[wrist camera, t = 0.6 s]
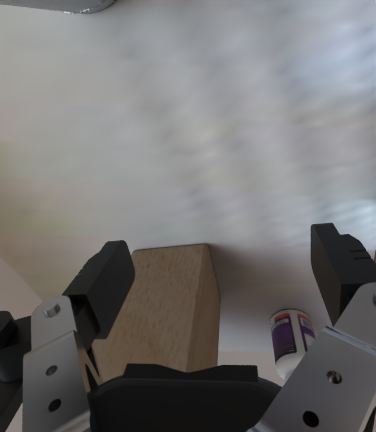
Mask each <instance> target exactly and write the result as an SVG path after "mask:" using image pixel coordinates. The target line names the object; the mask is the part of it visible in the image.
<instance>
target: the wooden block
mask: <svg viewBox="0 0 376 432" xmlns="http://www.w3.org/2000/svg"><path fill="white" fill-rule="evenodd" d="M131 258H132V261H133V264H134V267H135V280H134V282H133V284H132V287H131V289H130V291H129V293H128V295H127V297H126V299H125V301H124V303H123V305H122V308H121V310H120V312H119V314H118V316H117V318H116V320H115V322H114V324H113V327H112V329H111V331H110V333H109V335H108V337H107V339H95V340H94V341H93V343H92V346H93V348H94V350H95V354H96V358H97V361H98V365H99V368H100V372H101V375H102V379H103V382H106V381H108V380H110V379H112V378H115V377H117V376H120V375H123V374H124V371H125V368H126V365H127V363H136V364H159V365H162V366H166V367H169V368H172V369H176V370H179V371H183V372H194V371H198V370H203V369H207V368H211V367H216V366H217V360H218V341H219V322H220V302H221V298H220V294H219V290H218V286H217V281H216V277H215V273H214V269H213V264H212V260H211V256H210V251H209V247H208V246H207V244H198V245H187V246H177V247H166V248H155V249H145V250H135V251H133V252H132V254H131Z"/></svg>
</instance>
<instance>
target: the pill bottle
mask: <svg viewBox="0 0 376 432" xmlns="http://www.w3.org/2000/svg"><path fill="white" fill-rule="evenodd" d="M270 325H271V333H272V340H273V348H274V355H275V363H276V369H277V372H278V374H279V375H280V376H281V378H283V379H284V384H285V383H286V381H287V380H288V378H289V377H290V375H291V374H292V372H293V371H294V370H295V368H296V367H297V365H298V364H299V362H300V361H301V359H302V358H303V356H304V355H305V353H306V352H307V350H308V349H309V347H310V346H311V345H312V343H313V342H314V340H315V336H314V332H313V328H312V325H311V322H310V319H309V317H308V316H307V315H306V314H305V313H303V312H301V311H298V310H283V311H280V312H278V313H276V314H275V315H274V316H273V317H272V318H271V322H270Z"/></svg>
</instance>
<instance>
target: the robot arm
mask: <svg viewBox="0 0 376 432" xmlns="http://www.w3.org/2000/svg"><path fill="white" fill-rule="evenodd" d="M114 1H115V0H0V4H3V5H11V6H20V7H28V8H37V9H45V10H54V11H62V12H65V13H75V14H76V13H82V14H88V13H95V12H98V11H101V10H103V9H105V8H107V7H108V6H109V5H111V4H112V3H113V2H114ZM311 265H312V270H313V273H314V276H315V279H316V281H317V284H318V287H319V290H320V292H321V295H322V298H323V301H324V303H325V306H326V309H327V312H328V314H329V317H330V320H331V323H332V325H333V328H332V329H331V328H329V327H324V328H323V329H322V330H321V331H320V333H319V334H318V336H317V337H316V339H315V340H314V342H313V343H312V345H311V346H310V347H309V349H308V350H307V352H306V353H305V355H304V356H303V358H302V359H301V361H300V362H299V364H298V365H297V367H296V368H295V370H294V371H293V372H292V374H291V375H290V377H289V378H288V380H287V381H286V383H285V384H284V386H283V387H281V386H279V385H277V384H275V383H273V382H271V381H268V380H266V379H263V378H260V377H258V370H257V366H255V365H221V366H216V367H211V368H207V369H203V370H198V371H194V372H183V371H179V370H176V369H172V368H169V367H166V366H162V365H159V364H136V363H127V365H126V368H125V371H124V374H123V375H120V376H117V377H115V378H112V379H110V380H108V381H106V382H103V379H102V375H101V372H100V368H99V365H98V361H97V358H96V354H95V350H94V348H93V346H92V343H93V341H94V340H95V339H107V337H108V335H109V333H110V331H111V329H112V327H113V324H114V322H115V320H116V318H117V316H118V314H119V312H120V310H121V308H122V305H123V303H124V301H125V299H126V297H127V295H128V293H129V291H130V289H131V287H132V284H133V282H134V280H135V267H134V264H133V261H132V258H131V255H130V252H129V249H128V246H127V244H126V242H125V241H124V240H120V241H108V242H107V243H106V244H105V245H104V246H103V248H102V249H101V251H100V252H99V253H97V254H95V255H94V256H93V257H92V258H90V259H89V260H88V261H87V262H86V264H85V265H84V266H83V269H81V270H80V272H79V273H78V275H77V276H76V277H75V278H74V280H73V281H72V282H71V284H70V285H69V286H68V288H67V289H66V290H65V291H64V293H63V294H62V295H61V296H55V297H52V298H50V299H48V300H46V301H44V302H43V303H41V304H40V305H39V306H38V307H37V308H36V309H35V310H34V311H33V313H32V315H31V316H28V317H24V318H21V319H17V320H14V319H13V317H12V315H11V314H10V312H8V311H0V432H5V431H6V429H7V428H8V426H9V424H10V423H11V421H12V419H13V417H14V416H15V414H16V412H17V411H18V409H19V407H20V405H21V403H22V402H23V414H22V416H23V417H22V432H376V264H375V262H374V261H373V259H371V256H370V255H369V253H368V252H366V249H365V248H364V246H363V245H362V243H361V242H360V241H359V240H357V239H356V238H354V237H353V236H351V235H349V234H344V235H340V234H339V233H338V231H337V229H336V228H335V226H334V224H333V223H323V224H312V225H311Z"/></svg>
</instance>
